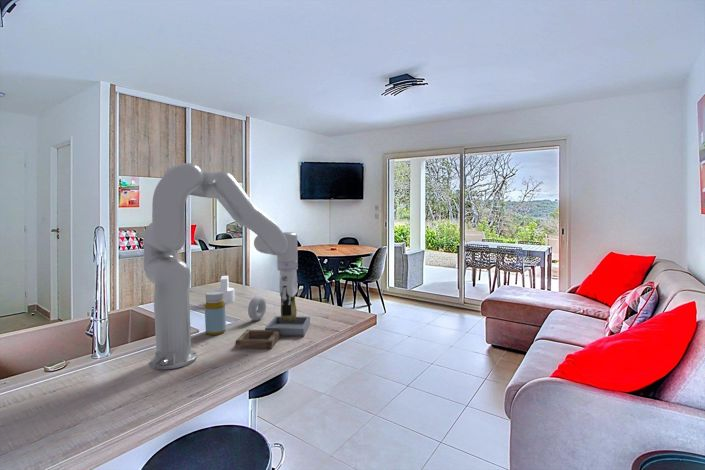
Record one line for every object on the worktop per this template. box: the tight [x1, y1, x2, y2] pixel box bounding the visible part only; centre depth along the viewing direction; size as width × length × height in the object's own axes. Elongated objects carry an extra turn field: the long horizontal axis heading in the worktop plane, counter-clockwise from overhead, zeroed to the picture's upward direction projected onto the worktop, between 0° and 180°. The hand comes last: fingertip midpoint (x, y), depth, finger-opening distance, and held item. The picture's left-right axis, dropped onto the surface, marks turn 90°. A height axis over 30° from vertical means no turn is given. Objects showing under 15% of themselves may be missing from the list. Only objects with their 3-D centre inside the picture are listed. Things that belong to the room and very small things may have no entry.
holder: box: [235, 329, 281, 350], centre depth 126 cm, size 11×12×2 cm
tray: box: [264, 315, 311, 338], centre depth 138 cm, size 14×14×3 cm
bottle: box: [204, 290, 227, 336], centre depth 135 cm, size 7×7×15 cm
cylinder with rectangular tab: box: [214, 275, 236, 304], centre depth 179 cm, size 9×9×12 cm
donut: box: [247, 295, 267, 321], centre depth 150 cm, size 10×4×10 cm, turn 159°
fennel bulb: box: [280, 292, 297, 322], centre depth 138 cm, size 6×5×12 cm
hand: (288, 312), depth 138 cm, fingers closed on fennel bulb, 4 cm apart
